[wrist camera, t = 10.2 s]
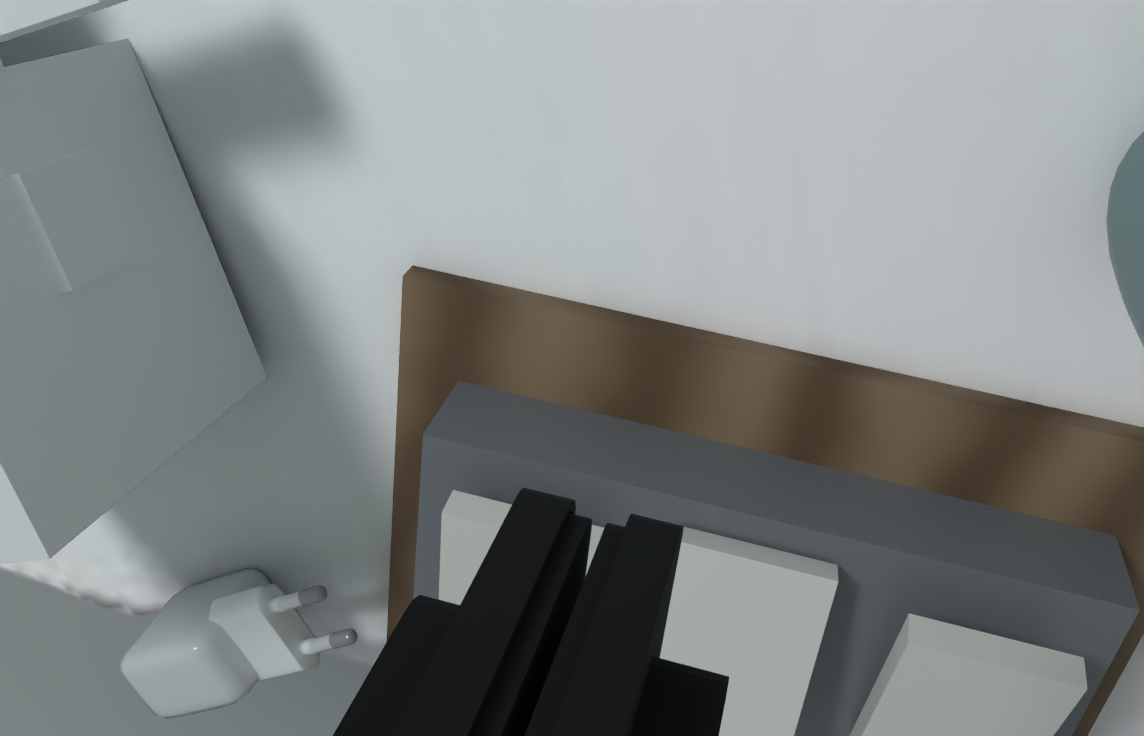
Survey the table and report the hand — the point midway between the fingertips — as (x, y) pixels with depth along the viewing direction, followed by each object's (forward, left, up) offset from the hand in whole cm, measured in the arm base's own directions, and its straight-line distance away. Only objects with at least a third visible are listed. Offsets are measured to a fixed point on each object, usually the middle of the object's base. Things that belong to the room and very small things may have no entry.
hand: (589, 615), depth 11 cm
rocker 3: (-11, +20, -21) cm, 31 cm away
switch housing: (-3, +20, -27) cm, 34 cm away
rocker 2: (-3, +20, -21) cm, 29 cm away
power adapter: (+18, +30, -27) cm, 44 cm away
